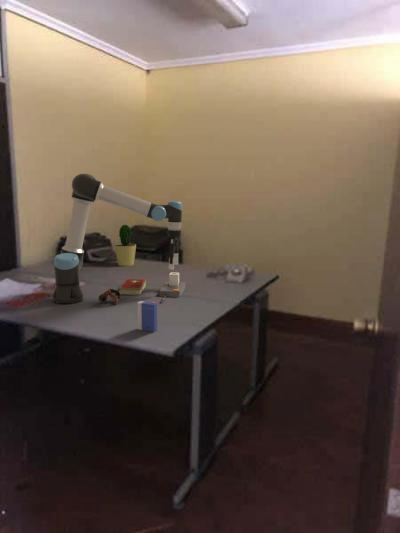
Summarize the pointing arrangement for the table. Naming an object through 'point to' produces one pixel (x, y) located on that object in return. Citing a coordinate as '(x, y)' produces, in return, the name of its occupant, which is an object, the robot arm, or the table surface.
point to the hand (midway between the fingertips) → (173, 266)
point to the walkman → (147, 316)
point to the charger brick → (174, 279)
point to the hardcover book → (133, 286)
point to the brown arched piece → (105, 295)
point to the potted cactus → (125, 247)
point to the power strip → (172, 290)
